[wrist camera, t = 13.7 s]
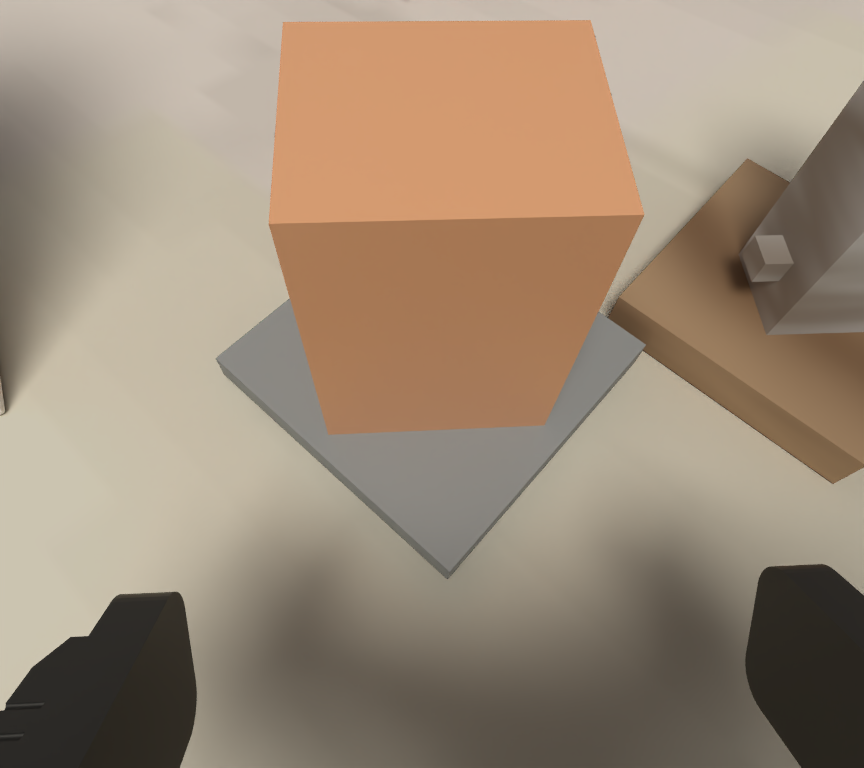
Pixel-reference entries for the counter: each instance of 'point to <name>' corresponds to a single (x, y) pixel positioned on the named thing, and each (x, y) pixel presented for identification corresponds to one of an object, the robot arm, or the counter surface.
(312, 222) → the tall orange box
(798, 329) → the post stand
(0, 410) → the milk
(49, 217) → the counter surface
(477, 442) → the mat
